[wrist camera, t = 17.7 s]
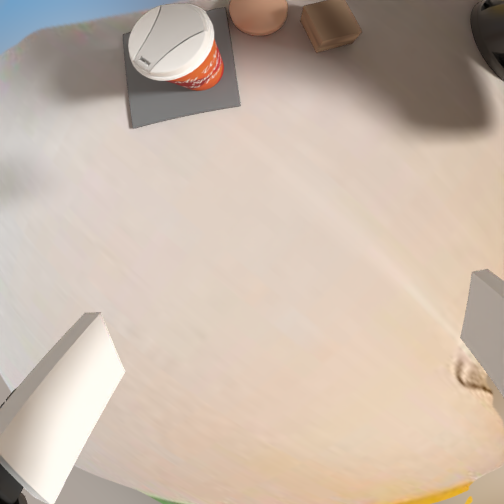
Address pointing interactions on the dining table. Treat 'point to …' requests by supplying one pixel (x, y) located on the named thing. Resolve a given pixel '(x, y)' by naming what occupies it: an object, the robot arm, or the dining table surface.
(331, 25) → the walnut block
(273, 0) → the tan rounded disc
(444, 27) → the dining table surface
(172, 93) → the mat
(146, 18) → the paper cup
